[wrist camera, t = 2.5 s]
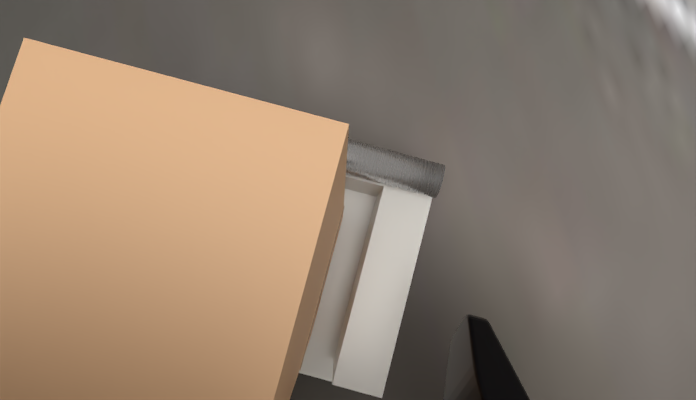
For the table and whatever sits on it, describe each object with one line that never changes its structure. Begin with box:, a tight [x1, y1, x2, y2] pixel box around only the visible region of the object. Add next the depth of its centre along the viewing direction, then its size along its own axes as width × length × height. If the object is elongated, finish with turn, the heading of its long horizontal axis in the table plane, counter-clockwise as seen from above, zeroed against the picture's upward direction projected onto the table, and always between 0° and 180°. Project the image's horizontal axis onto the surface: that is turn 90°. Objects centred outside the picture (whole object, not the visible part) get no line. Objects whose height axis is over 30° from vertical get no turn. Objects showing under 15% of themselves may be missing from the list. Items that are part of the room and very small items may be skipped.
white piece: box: [299, 139, 445, 398], centre depth 15 cm, size 8×8×4 cm
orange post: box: [0, 38, 349, 400], centre depth 10 cm, size 4×3×13 cm, turn 165°
